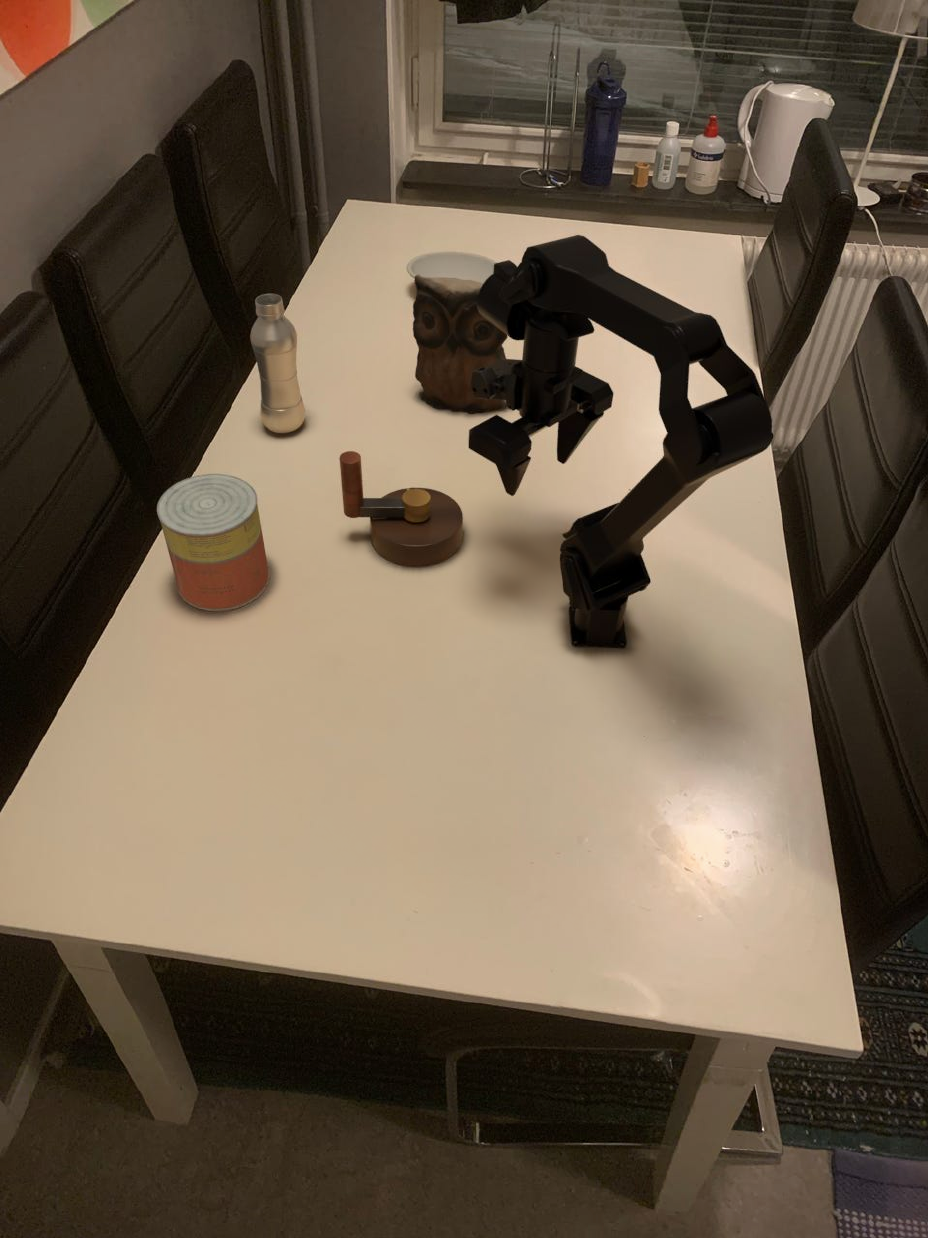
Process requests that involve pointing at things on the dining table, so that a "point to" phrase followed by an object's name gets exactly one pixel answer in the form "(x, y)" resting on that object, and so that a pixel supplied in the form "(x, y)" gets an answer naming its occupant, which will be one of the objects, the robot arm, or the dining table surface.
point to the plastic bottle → (277, 365)
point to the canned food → (214, 541)
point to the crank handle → (409, 506)
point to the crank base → (419, 532)
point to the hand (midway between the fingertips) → (536, 477)
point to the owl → (453, 343)
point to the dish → (452, 266)
